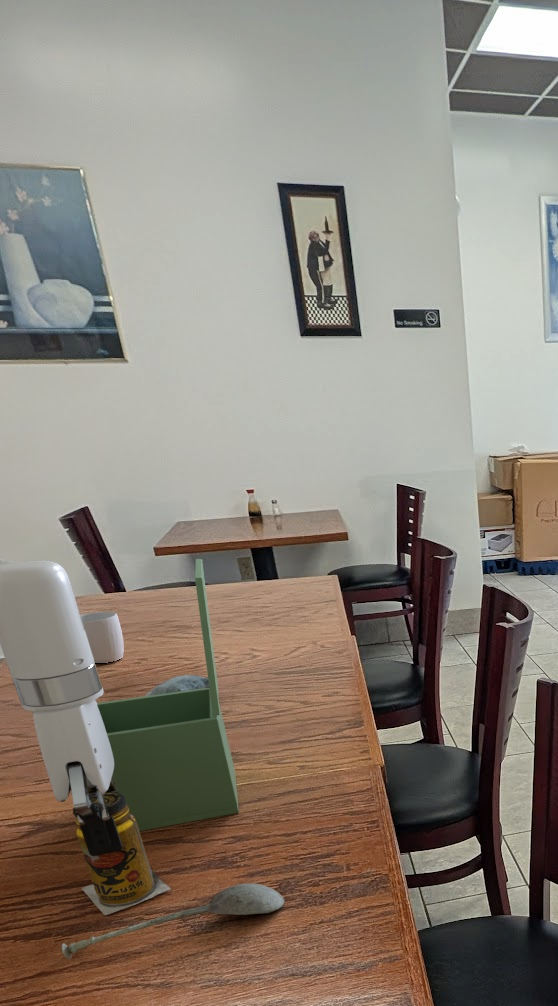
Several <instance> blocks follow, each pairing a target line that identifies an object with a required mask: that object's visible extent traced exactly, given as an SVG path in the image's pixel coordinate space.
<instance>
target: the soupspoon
mask: <svg viewBox="0 0 558 1006" xmlns="http://www.w3.org/2000/svg"><path fill="white" fill-rule="evenodd" d="M285 901H286V900H285V898H284V897H283V895H282V894H281V893H279V892H278V891H276V890H275V889H274V888H271V887H269V886H267V885H265V884H259V883H251V882H250V883H248V882H246V883H239V884H234V885H231V886H228V887H226V888H224V889H222V890H221V891H219V892H218V893H217V894H215V895H214V896H213V897H212V899H211V900H209V902H208V904H207V905H202V906H198V907H194V908H188V909H185V910H181V911H180V910H179V911H177V912H173V913H170V914H166V915H162V916H159V917H156V918H153V919H149V920H147V921H144V922H140V923H137V924H133V925H130V926H127V927H123V928H120V929H118V930H114V931H111V932H108V933H105V934H102V935H98V936H96V937H94V936H91V937H90V938H89V939H84V940H79V941H77V942H76V943H75V942H70V944H69V946H68V945H67V944H66V943H62V944H61V951H62V955H63V956H64V957H65V958H66V959H67V960H70V959H72V954H77V953H78V952H79V951H81V950H85V949H88V947H89V946H91V945H93V946H96V944H97V943H99V942H103V941H107V940H110V939H112V938H115V937H119V936H123V935H126V934H129V933H133V932H136V931H140V930H144V929H147V928H150V927H153V926H156V925H159V924H160V925H161V924H164V923H167V922H171V921H174V920H179V919H182V918H183V919H184V918H186V917H192V916H196V915H201V914H205V913H206V914H207V913H211V914H214V915H215V914H216V915H233V916H240V915H241V916H243V915H256V914H257V915H258V914H270V913H272V912H275V911H278V910H279V909H281V908H283V906H284V904H285V903H286V902H285Z"/></svg>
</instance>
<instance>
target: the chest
mask: <svg viewBox="0 0 558 1006" xmlns="http://www.w3.org/2000/svg"><path fill="white" fill-rule="evenodd" d="M97 706H98V709H99V712H100V714H101V717H102V720H103V723H104V726H105V729H106V733H107V736H108V739H109V742H110V746H111V749H112V753H113V758H114V770H113V774H112V777H113V779H114V781H115V784H116V788H117V791H114V792H119V794H121V795H123V796H124V798H125V799H126V803H127V806H128V808H129V813H130V814H131V815H133V816H134V818H135V819H136V822H137V825H138V828H139V832H144V831H150V830H154V829H160V828H164V827H165V828H166V827H170V826H171V827H172V826H175V825H181V824H186V823H192V822H197V821H202V820H208V819H213V818H218V817H224V816H229V815H234V814H239V813H240V811H239V810H240V809H239V799H238V789H237V788H238V787H237V778H236V769H235V765H234V761H233V757H232V756H233V755H232V752H231V748H230V744H229V739H228V734H227V730H226V727H225V720H224V716H223V713H222V710H221V703H219V711H220V715H216V716H213V711H212V703H211V695H210V688H201V689H194V690H187V691H180V692H173V693H165V694H158V695H151V696H145V695H144V696H138V697H137V696H136V697H130V698H124V699H117V700H110V701H109V700H108V701H102V702H97ZM112 793H113V792H112Z"/></svg>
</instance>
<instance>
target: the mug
mask: <svg viewBox="0 0 558 1006" xmlns="http://www.w3.org/2000/svg"><path fill="white" fill-rule="evenodd" d="M80 616H81V619H82V623H83V626H84V629H85V632H86V636H87V639H88V642H89V645H90V649H91V652H92V655H93V659H94V662H95V663H106V662H113V661H116V660H119V659H121V658H122V659H123V657H124V654H125V653H124V652H125V646H124V645H125V644H124V636H123V631H122V627H121V623H120V620H119V616H118V614H117V612H114V611H95V612H87V613H83V614H80ZM122 659H121V660H122ZM119 661H120V660H119ZM113 663H114V662H113Z"/></svg>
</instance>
